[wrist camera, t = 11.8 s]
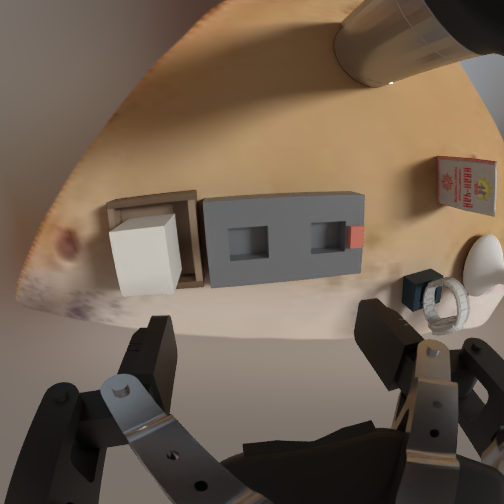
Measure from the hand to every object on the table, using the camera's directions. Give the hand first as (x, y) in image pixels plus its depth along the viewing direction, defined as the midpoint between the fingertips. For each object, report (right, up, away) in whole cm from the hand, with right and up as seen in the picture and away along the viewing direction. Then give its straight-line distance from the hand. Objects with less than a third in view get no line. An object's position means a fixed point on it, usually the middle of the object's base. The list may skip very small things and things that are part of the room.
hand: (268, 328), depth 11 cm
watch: (+24, -2, +26) cm, 36 cm away
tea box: (+27, +14, +22) cm, 37 cm away
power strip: (+3, +5, +21) cm, 22 cm away
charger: (-11, +4, +19) cm, 23 cm away
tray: (-11, +5, +20) cm, 23 cm away
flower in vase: (+40, +1, +27) cm, 48 cm away
